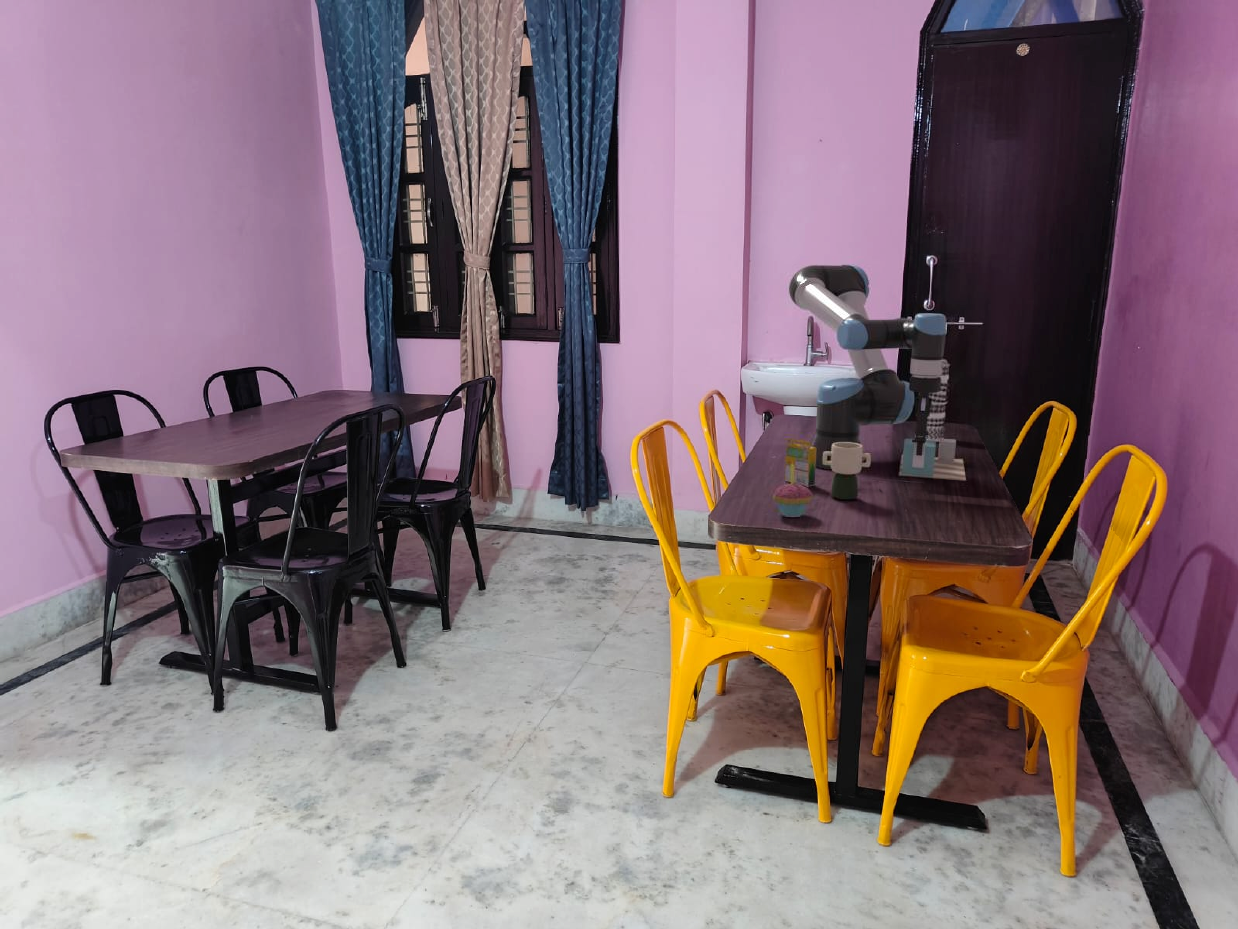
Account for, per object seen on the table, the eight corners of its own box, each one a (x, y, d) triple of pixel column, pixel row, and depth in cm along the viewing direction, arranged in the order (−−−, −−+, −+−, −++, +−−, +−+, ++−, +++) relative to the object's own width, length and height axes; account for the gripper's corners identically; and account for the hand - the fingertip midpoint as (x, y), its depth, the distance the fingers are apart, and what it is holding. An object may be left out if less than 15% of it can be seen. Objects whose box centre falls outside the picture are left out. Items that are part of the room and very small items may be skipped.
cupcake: (768, 510, 192) (770, 458, 189) (805, 509, 192) (808, 458, 189) (778, 521, 183) (780, 468, 180) (816, 520, 184) (819, 467, 181)
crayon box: (815, 485, 212) (817, 440, 209) (807, 487, 210) (810, 442, 207) (791, 479, 217) (793, 435, 215) (784, 481, 215) (786, 437, 213)
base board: (965, 486, 211) (965, 480, 211) (898, 480, 216) (898, 475, 216) (962, 464, 233) (962, 459, 232) (901, 460, 238) (901, 454, 238)
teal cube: (932, 476, 214) (935, 446, 212) (901, 474, 217) (903, 444, 215) (933, 469, 221) (935, 440, 219) (902, 467, 224) (904, 438, 222)
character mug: (867, 495, 203) (870, 442, 200) (868, 503, 196) (872, 449, 193) (820, 493, 205) (823, 440, 202) (820, 501, 199) (823, 447, 195)
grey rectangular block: (953, 464, 227) (955, 442, 225) (937, 463, 228) (939, 441, 227) (953, 461, 231) (955, 439, 229) (937, 459, 232) (939, 438, 230)
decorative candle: (913, 435, 271) (920, 357, 265) (944, 437, 268) (952, 358, 262) (913, 440, 263) (920, 360, 257) (945, 442, 260) (952, 361, 254)
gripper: (941, 382, 202) (933, 474, 208) (941, 371, 221) (933, 456, 227) (908, 380, 205) (901, 471, 210) (911, 370, 224) (904, 453, 229)
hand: (918, 463), depth 218 cm, fingers closed on teal cube, 8 cm apart
